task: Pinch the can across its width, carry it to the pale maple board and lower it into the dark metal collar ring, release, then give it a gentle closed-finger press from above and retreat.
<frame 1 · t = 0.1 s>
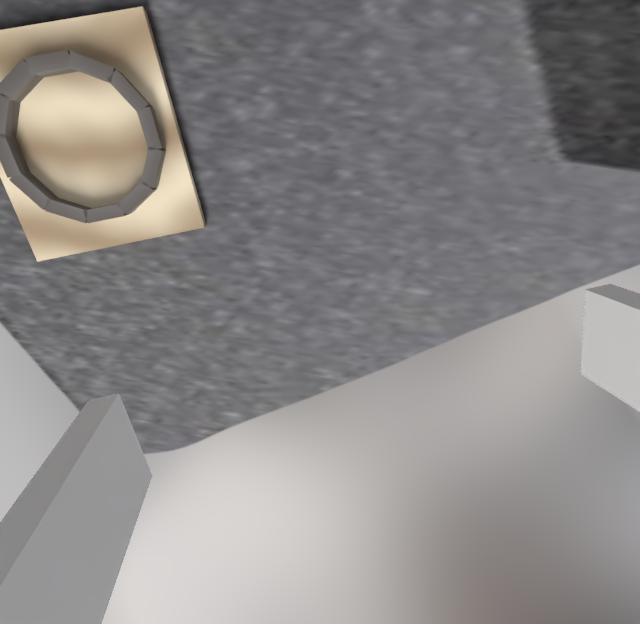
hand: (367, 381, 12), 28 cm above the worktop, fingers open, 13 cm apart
board: (91, 144, 33), on the worktop
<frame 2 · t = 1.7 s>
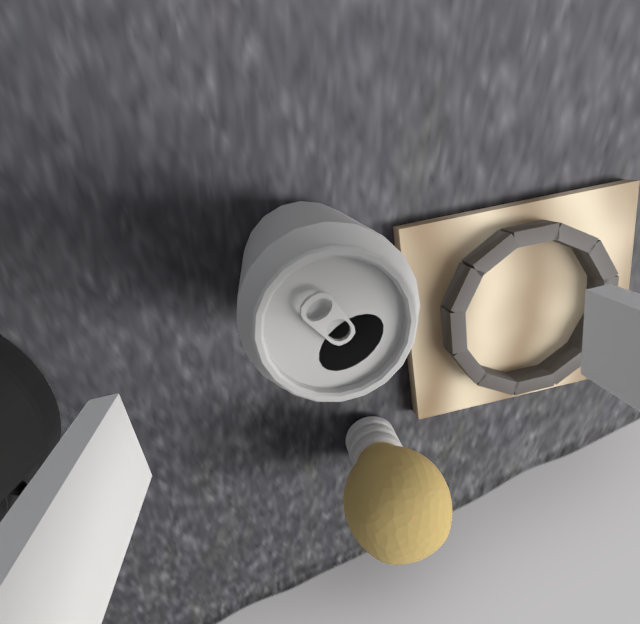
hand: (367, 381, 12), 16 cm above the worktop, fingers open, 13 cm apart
can: (303, 260, 26), on the worktop
light bulb: (367, 431, 31), on the worktop
board: (511, 302, 29), on the worktop
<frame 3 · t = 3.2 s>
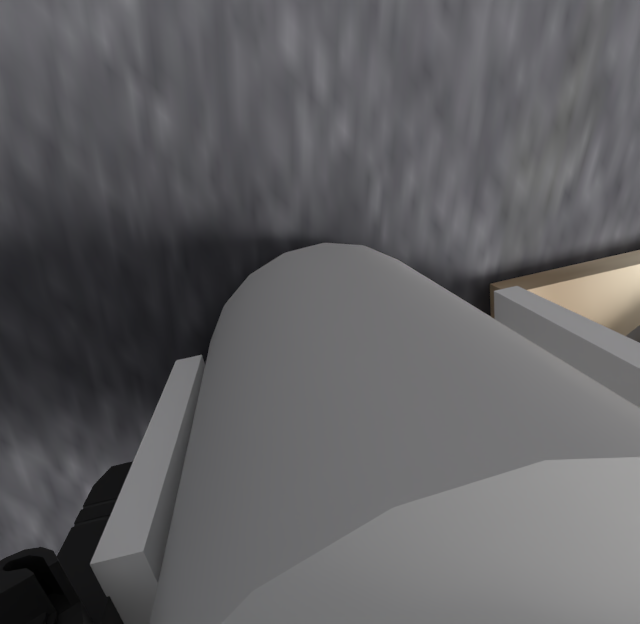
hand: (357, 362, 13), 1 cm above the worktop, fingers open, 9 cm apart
can: (325, 346, 14), on the worktop, touching gripper
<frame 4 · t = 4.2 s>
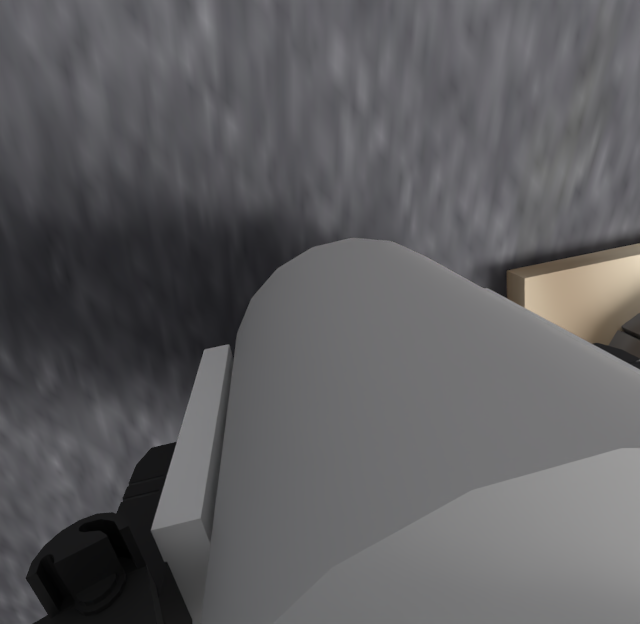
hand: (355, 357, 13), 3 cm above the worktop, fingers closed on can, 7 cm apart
can: (347, 341, 14), point 2 cm above the worktop, touching gripper
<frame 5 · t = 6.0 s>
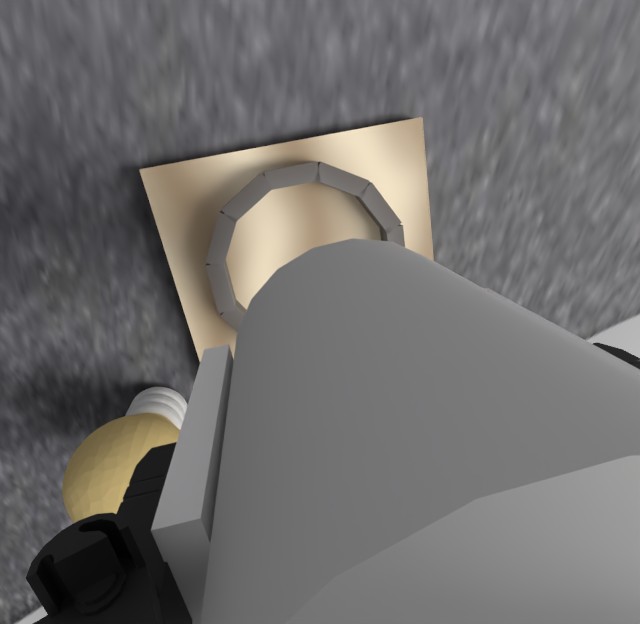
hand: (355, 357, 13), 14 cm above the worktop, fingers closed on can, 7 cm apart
can: (348, 342, 14), point 13 cm above the worktop, touching gripper
light bulb: (162, 404, 29), on the worktop
board: (305, 259, 26), on the worktop
when the fingers open (4 cm above the worktop, at t = 8.1 s): can drops 2 cm, resting on board.
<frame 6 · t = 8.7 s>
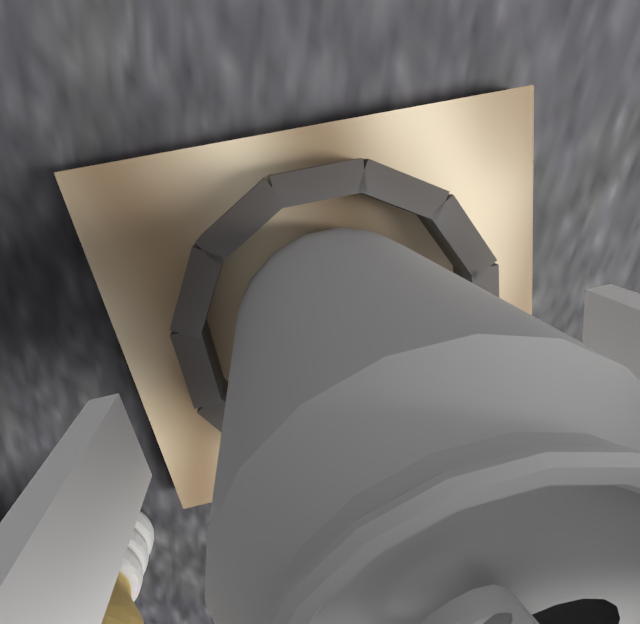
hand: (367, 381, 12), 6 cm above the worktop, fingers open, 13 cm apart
can: (335, 320, 16), point 1 cm above the worktop, touching board
light bulb: (116, 521, 19), on the worktop
board: (332, 311, 17), on the worktop
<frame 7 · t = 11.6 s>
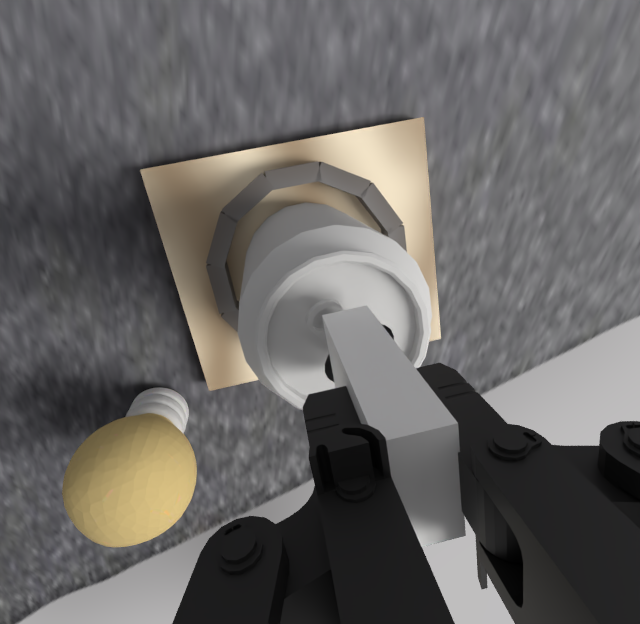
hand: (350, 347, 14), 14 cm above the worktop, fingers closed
can: (307, 263, 25), point 1 cm above the worktop, touching board
light bulb: (162, 405, 29), on the worktop
board: (306, 260, 26), on the worktop
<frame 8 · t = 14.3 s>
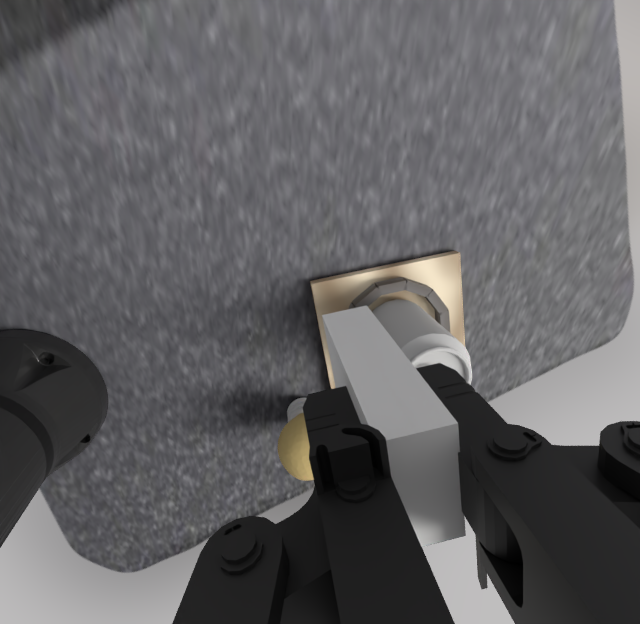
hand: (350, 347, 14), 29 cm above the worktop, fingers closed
can: (392, 328, 45), point 1 cm above the worktop, touching board
light bulb: (302, 407, 49), on the worktop
board: (390, 325, 46), on the worktop
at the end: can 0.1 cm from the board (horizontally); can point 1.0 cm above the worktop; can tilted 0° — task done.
